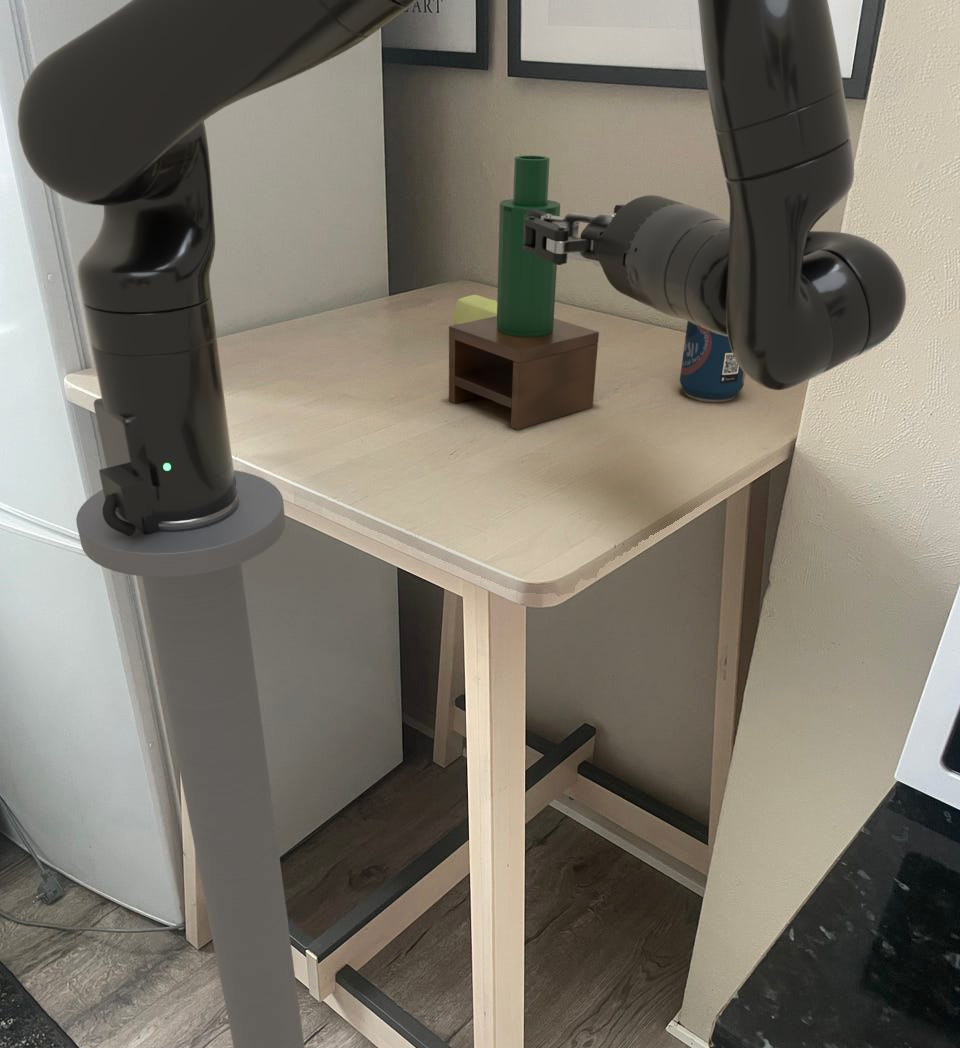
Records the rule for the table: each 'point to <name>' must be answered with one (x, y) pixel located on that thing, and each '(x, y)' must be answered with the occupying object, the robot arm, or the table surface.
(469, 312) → the yellow green block
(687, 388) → the soda can
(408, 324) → the table surface
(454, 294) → the table surface
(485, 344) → the shelf
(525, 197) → the bottle
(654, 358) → the table surface
